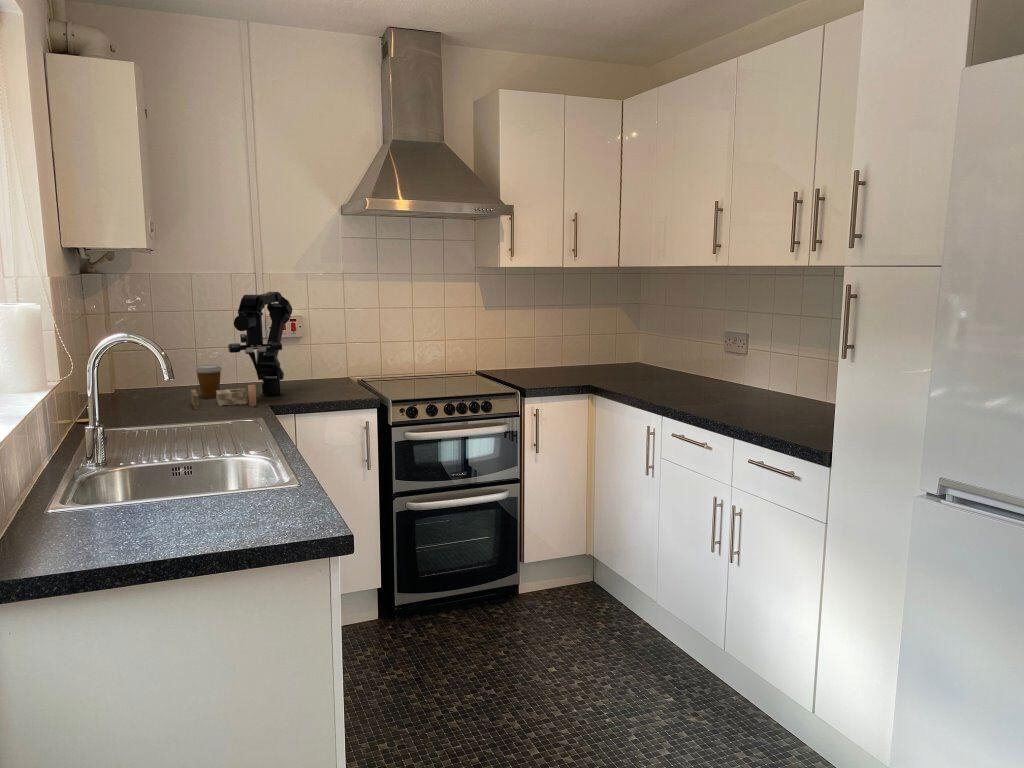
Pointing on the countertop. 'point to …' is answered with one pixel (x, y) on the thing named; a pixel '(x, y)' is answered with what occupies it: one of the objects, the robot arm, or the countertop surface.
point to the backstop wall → (195, 399)
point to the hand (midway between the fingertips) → (256, 369)
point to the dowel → (252, 395)
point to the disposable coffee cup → (209, 379)
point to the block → (231, 397)
